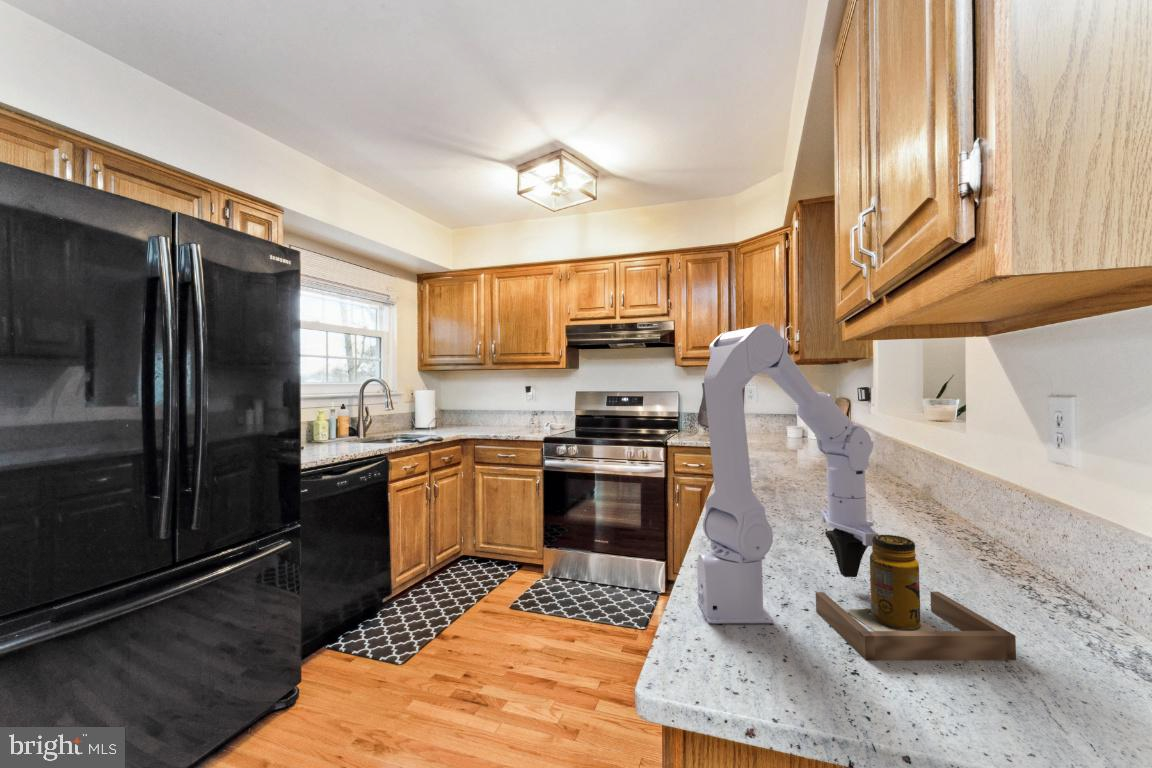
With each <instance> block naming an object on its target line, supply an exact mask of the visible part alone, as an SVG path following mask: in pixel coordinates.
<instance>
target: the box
mask: <svg viewBox="0 0 1152 768" xmlns="http://www.w3.org/2000/svg"><path fill="white" fill-rule="evenodd" d="M929 592H930V593H929V594H930V611H931V612H930V613H933V614H934V615H936V616H938V617H939V618H940V619H941V620H944V621H945V622H947V623H949V624H950V625H951V626H953V627H954V628H956V629H958V630H935V631H874V630H868V629H867V628H866V627H865V626H864V625H863V624H861V623H860V621H859V620H858V621H857V620H856V618H855V617H854V616H853V615H851V614H850V613H849V612H848V611H846V609H844V608H842V607H841V606H840V605H839V604H838V603H837V602H835V600H833V599H832V598H831V597H830V596H829V595H827V593H825V592H823V591H816V592H815V613H816V614H817V615H819V616H820V617H821V618H822V619H823V620H824V621H825V622H826V623H827V624H828V625H829V626H830V627H831V628H832V629H833V630H834V631H835V632H836V633H837V634H838V635H839V636H840V637H841V638H842V639H844V641H845V642H846V643H847V644H848V645H849V646H850V647H852V649H854V651H856V653H857V654H858V655H860V656H861V657H862V659H863V660H865V661H1017V643H1016V640H1017V639H1016V635H1015V634H1013V633H1012V632H1010V631H1008V630H1006V629H1005V628H1003V627H1001V626H999V625H998V624H996V623H994V622H992V621H991V620H988V618H986V617H984V616H982V615H980V614H978V613H977V612H975V611H974V610H971V609H969V608H968V607H967V606H965V605H963V604H961V603H959V602H958V601H956V600H954V599H952V598H950V597H949V596H947V595H945V594H943V593H942V592H941V591H939V590H938V591H937V590H936V591H929Z"/></svg>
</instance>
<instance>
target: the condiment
mask: <svg viewBox="0 0 1152 768" xmlns="http://www.w3.org/2000/svg"><path fill="white" fill-rule="evenodd" d="M872 542H873V546H871V550H872V552H871V553H870V556H869V576H870V578H869V579H870V580H869V582H870V583H869V584H870V588H869V589H870V608H859V609H857V608H856V609H855V608H854V609H853V608H850V609H849V608H848V609H845V611H846V612H847V613H848V614H850V615H851V616H852V617H853V618H855V619H857V620H858V621H859V622H861V623H863V624H864V625H865V626H867V627H869V628H870V629H872V631H937V629H936V628H934V627H933V626H930V625H928V624H927V623H924V622H923V621H922V620H921V594H920V593H921V592H920V591H921V590H920V565H919V563H920V562H919V561H918V559H916V557H917V554H916V544H915V542H914V541H913V540H912V539H910V538H907V537H904V536H900V535H893V534H878V535H876V536H874V537H873V540H872Z"/></svg>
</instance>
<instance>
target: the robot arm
mask: <svg viewBox="0 0 1152 768" xmlns="http://www.w3.org/2000/svg"><path fill="white" fill-rule="evenodd" d="M788 348H789V343H788V341H787V340H786V339H785V338H784V337H783V336H782V335H781V334H780V332H779V331H778V329H777V328H775V327H774V326H773V325H771V324H768V323H762V324H758V325H756V326H752V327H748V328H742V329H736V330H733V331H732V330H728V331H724V332H722V333H720V334H719V335H718V336H717V337H715V339H714V340H713V341H712V342H711V343H710V345H709V347H708V349H709V350H708V351H709V357H710V358H709V360H708V365H707V368H706V371H705V373H704V377H703V386H704V395H705V406H706V407H705V408H706V416H707V426H708V435H709V447H710V457H711V464H712V476H713V483H714V485H713V486H714V492H713V493H712V494H711V495H710V496H709V497H707V499H705V513H704V516H703V521H702V530H703V533H704V536H705V537H706V538H707V540H709V541H710V549H712V551H711V552H706V553H701V554H699V555H698V556H697V565H696V568H697V599H696V601H697V603H698V605H699V606H700V607H699V608H700V609H701V611H702V613H703V615H704V617H705V619H706V621H707V623H709V624H773V623H774V618H773V617H772V616H771V615H770V614H769V612H768V611H767V610H766V608H764V591H763V590H764V588H763V586H764V585H763V560H765V559H766V555H767V554H768V553H769V552H770V550H771V548H772V544H773V539H774V538H773V537H774V534H773V529H772V527H771V525H770V523H769V521H768V519H767V517H766V510H765V509H766V507H765V506H764V505H763V504H762V502H761V501H760V499H759V498H758V497H757V496H756V495H755V493H754V491H753V487H752V485H753V484H752V475H751V467H750V466H751V463H750V456H749V445H748V436H747V427H746V424H747V423H746V415H745V406H744V405H745V403H744V397H743V395H744V394H743V390H744V388H745V387H746V386H747V384H748V383H749V382H750V381H751V380H752V379H753V378H754V377H755V376H756V375H759V374H761V375H767V376H769V378H770V379H771V380H772V381H773V382H775V384H776V385H778V386H779V388H780V389H782V390H783V392H784V393H785V394H787V396H789V397H790V398H791V399H792V400H793V401H794V402H795V403H796V404H797V407H796V413H797V416H798V417H799V418H800V419H801V421H803V423H805V425H806V426H807V428H808V429H810V430H811V432H812V433H813V435H814V437H815V439H816V443H817V449H818V450H819V451H820V452H821V453H822V454H823V455H825V456H826V457H825V459H826V487H827V488H826V490H827V491H826V493H827V496H826V497H827V510H820V516H821V517H820V521H821V522H823V523H826V524H827V525H828V526H829V527H831V528H833V529H832V530H826V531H824V534H825V537H827V539H828V541H829V543H830V545H831V547H832V550H833V552H834V555H835V559H836V564H837V566H838V570H839V573H840V575H841V576H842V577H845V578H857V577H858V574H859V570H860V566H861V563H862V559H863V557H864V554H865V552H866V551H867V549H868V547H872V546H873V542H872V540H873V537H874V536H876V535H879V533H878V532H876V531H875V530H874V529H873V528H872V527H874V521H872V520H869V519H867V491H866V489H867V488H866V484H867V483H866V470H868V467H869V466H870V465H869V458H870V457H871V456H870V455H872V452H873V450H874V441H872V437H871V435H870V433H869V431H868V430H866V429H865V428H864V427H863V426H860V425H857V424H854V423H853V422H852V421H851V418H850V417H849V416H848V415H846V414H845V413H844V411H843V410H842V409H841V408H840V407H839V406H838V404H837V403H836V400H835V398H834V397H833V395H832V394H828V393H826V392H822V391H816V389H814V387H813V386H812V384H811V383H810V381H809V380H808V379H807V377H806V376H805V375H804V373H803V372H802V370H801V369H800V368H799V366H798V365H797V364H796V362H795V361H794V359H793V358H792V356H790V354H789V352H788V351H789V349H788Z"/></svg>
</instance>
